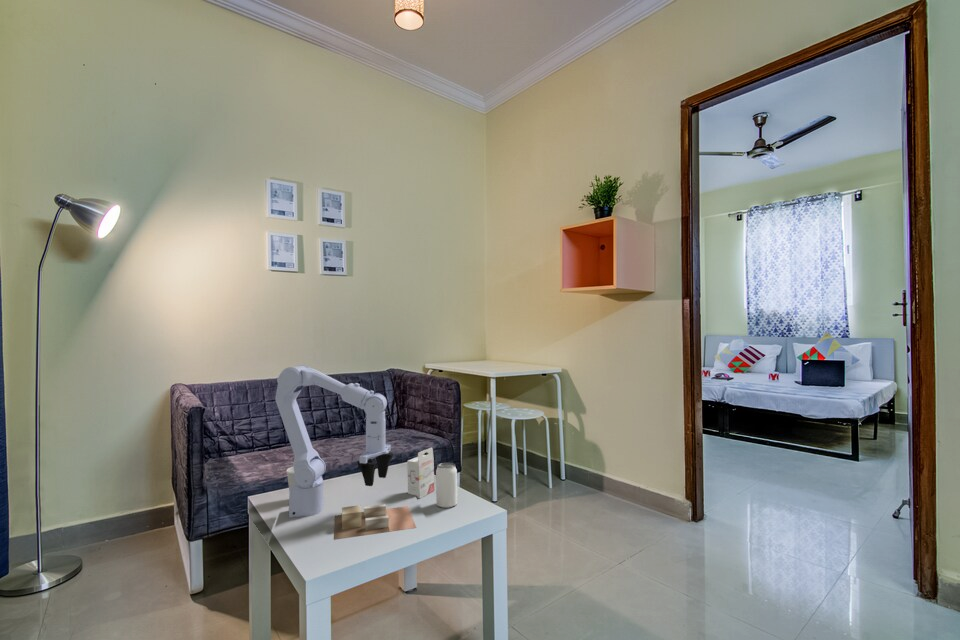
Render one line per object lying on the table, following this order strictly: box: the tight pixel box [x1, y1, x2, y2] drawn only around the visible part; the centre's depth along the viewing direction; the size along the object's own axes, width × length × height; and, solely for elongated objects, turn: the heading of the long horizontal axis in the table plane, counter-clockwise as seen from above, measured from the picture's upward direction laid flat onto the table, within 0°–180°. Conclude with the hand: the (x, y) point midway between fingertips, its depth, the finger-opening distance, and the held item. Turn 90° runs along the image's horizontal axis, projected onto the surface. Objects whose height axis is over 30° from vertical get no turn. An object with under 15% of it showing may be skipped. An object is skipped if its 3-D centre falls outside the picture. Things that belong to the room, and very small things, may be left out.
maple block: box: [341, 504, 362, 529], centre depth 122 cm, size 5×5×4 cm
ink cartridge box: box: [406, 446, 435, 499], centre depth 148 cm, size 9×5×15 cm, turn 151°
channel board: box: [333, 503, 417, 541], centre depth 124 cm, size 21×16×4 cm
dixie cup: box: [285, 466, 297, 493], centre depth 144 cm, size 8×8×10 cm
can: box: [435, 462, 458, 509], centre depth 138 cm, size 6×6×12 cm
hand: (375, 481), depth 132 cm, fingers open, 7 cm apart
